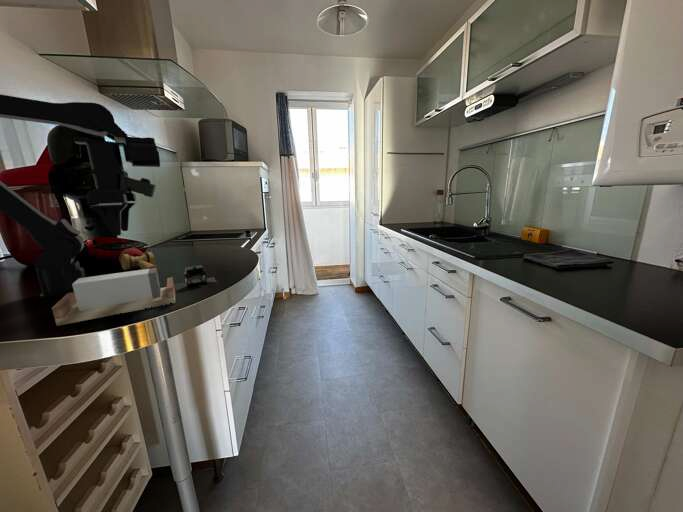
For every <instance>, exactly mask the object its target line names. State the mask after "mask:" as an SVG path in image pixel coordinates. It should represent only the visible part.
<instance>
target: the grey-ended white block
mask: <svg viewBox="0 0 683 512" xmlns="http://www.w3.org/2000/svg"><path fill="white" fill-rule="evenodd" d="M72 286H73V290H74V293H75V297H76V301H77V304H78V308H79V311H83V310H88V309H94V308H100V307H105V306H111V305H116V304H122V303H127V302H133V301H139V300H144V299H150V298H155V297H160V293H161V289H160V288H161V285H160V279H159V273H157V268H152V269H144V270H142V269H138V270H130V271H123V272H122V271H121V272H116V273H115V272H114V273H108V274H100V275H94V276H86V277H85V278H79V279H78V280H76V281H75V282H74V283H73V284H72Z"/></svg>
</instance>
